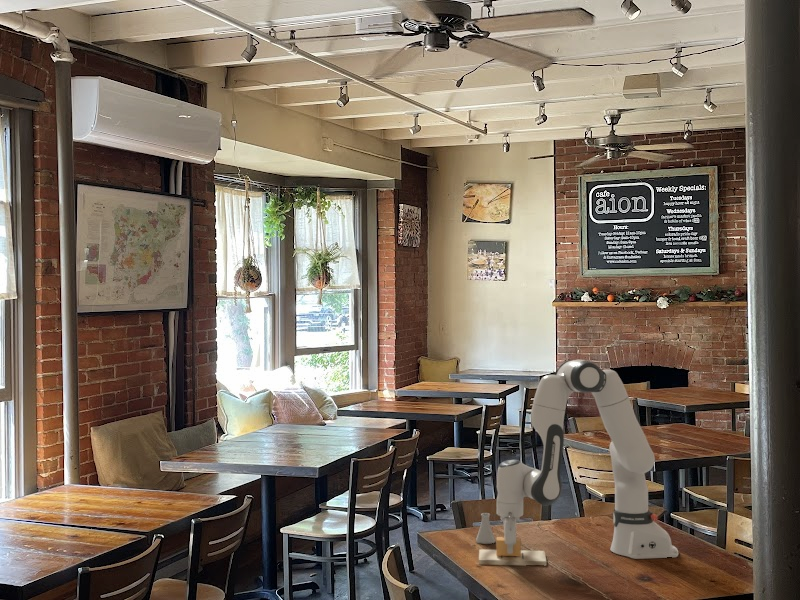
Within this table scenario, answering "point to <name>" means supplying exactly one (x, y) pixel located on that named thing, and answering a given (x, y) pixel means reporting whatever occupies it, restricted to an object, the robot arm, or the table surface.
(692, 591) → the table surface
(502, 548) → the block
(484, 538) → the flask
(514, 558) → the birch board
